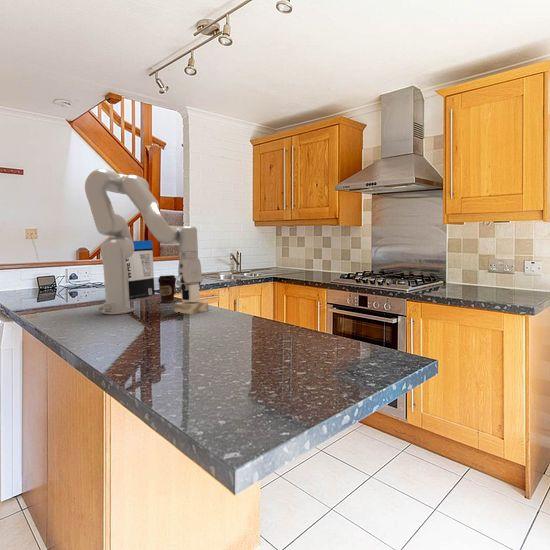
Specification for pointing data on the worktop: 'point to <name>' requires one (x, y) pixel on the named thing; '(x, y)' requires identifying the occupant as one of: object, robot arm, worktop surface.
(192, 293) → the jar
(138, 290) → the protein powder
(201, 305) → the block
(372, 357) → the worktop surface
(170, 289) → the coffee cup
